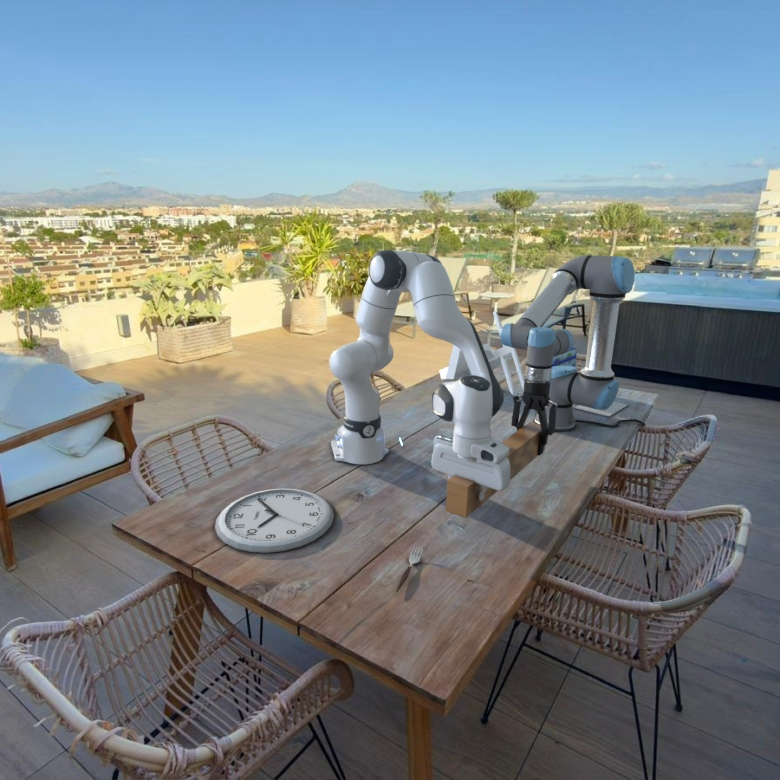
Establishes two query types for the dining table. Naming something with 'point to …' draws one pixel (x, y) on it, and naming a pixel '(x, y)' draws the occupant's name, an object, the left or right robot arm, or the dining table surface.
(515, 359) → the white plastic object
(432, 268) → the left robot arm
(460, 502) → the post
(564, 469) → the dining table surface
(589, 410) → the invitation card
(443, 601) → the dining table surface
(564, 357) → the lunch box
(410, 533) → the dining table surface
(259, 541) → the wall clock
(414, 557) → the fork
